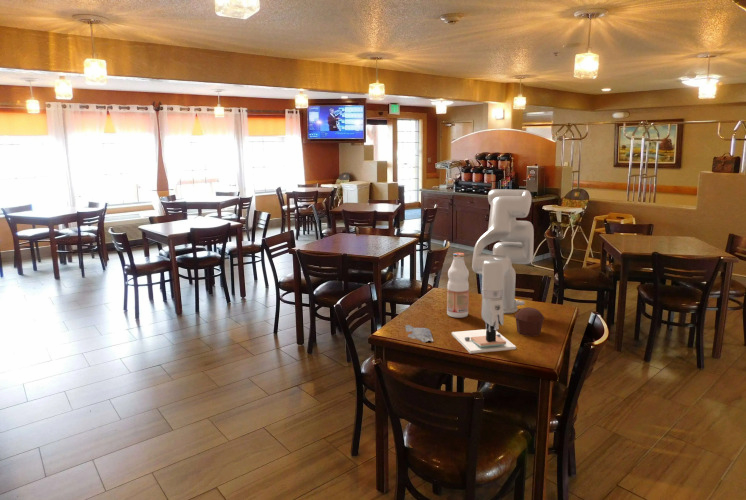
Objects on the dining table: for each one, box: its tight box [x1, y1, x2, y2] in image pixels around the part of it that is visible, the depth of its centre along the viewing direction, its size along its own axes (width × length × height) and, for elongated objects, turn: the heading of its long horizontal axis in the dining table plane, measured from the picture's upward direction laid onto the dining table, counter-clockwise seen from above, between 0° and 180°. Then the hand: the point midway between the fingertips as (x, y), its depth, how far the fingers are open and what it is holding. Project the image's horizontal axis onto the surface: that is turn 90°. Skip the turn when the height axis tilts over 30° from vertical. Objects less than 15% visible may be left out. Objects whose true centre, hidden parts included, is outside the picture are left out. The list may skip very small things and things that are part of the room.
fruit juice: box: [446, 252, 470, 319], centre depth 231 cm, size 9×9×28 cm
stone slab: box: [404, 324, 434, 343], centre depth 210 cm, size 18×2×10 cm
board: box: [451, 328, 517, 354], centre depth 202 cm, size 18×20×2 cm
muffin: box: [514, 307, 546, 337], centre depth 210 cm, size 12×11×10 cm
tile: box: [471, 336, 506, 347], centre depth 197 cm, size 10×10×1 cm
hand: (490, 340), depth 194 cm, fingers closed
